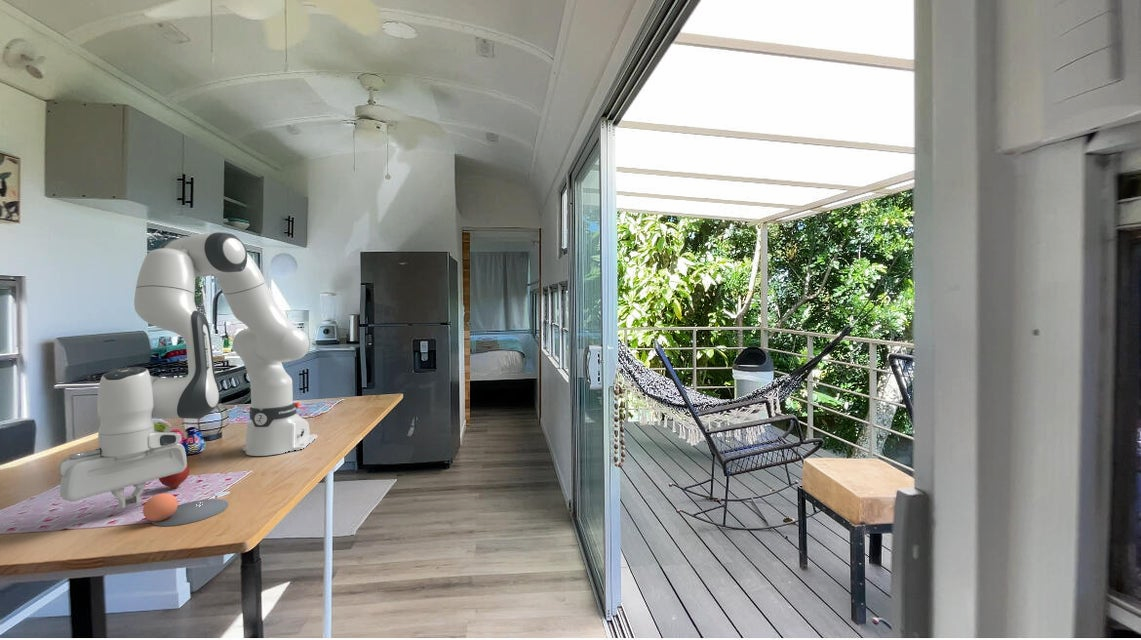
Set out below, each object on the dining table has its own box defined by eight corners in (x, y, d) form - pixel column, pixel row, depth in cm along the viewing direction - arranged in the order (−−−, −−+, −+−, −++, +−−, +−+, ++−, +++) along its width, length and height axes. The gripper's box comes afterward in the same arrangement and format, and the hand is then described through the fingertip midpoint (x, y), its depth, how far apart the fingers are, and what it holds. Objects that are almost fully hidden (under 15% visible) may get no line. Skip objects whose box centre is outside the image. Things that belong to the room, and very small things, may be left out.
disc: (186, 500, 108) (186, 499, 108) (242, 499, 108) (242, 498, 108) (133, 526, 95) (133, 525, 95) (197, 526, 95) (197, 525, 95)
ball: (179, 521, 99) (161, 516, 100) (187, 494, 100) (169, 489, 101) (151, 526, 94) (132, 520, 95) (160, 497, 95) (141, 492, 96)
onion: (171, 493, 112) (170, 460, 111) (152, 491, 113) (151, 459, 113) (195, 484, 117) (194, 453, 117) (177, 482, 118) (176, 451, 118)
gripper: (65, 458, 90) (67, 529, 90) (189, 433, 108) (191, 491, 109) (52, 454, 93) (54, 522, 93) (175, 430, 111) (177, 487, 111)
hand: (129, 505), depth 101 cm, fingers closed
